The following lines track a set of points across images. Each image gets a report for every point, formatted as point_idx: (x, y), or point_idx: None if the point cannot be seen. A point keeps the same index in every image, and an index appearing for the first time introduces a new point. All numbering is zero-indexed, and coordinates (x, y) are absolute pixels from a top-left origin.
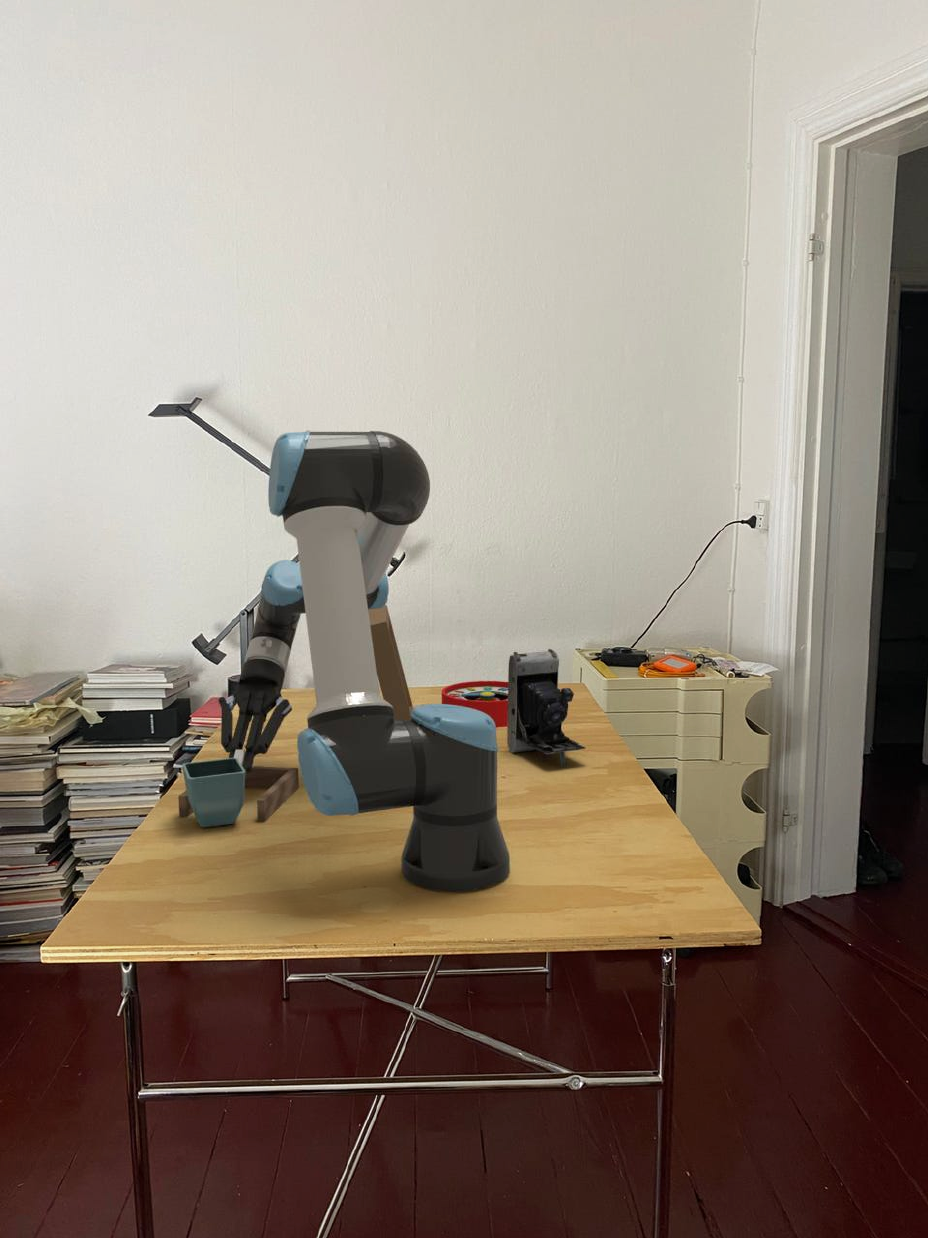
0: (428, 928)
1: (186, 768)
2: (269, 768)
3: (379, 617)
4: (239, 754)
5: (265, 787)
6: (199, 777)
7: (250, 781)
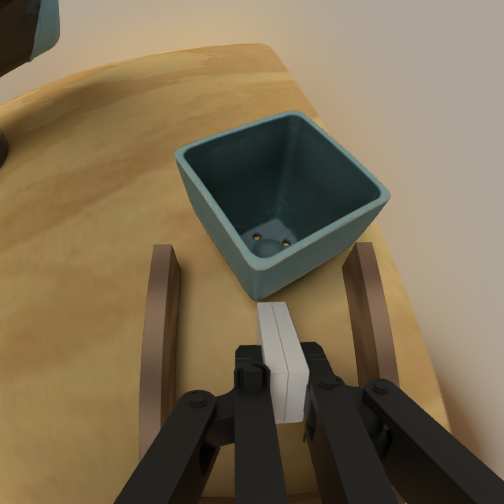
0: (22, 101)
1: (353, 163)
2: None
3: None
4: (282, 359)
5: None
6: (276, 115)
7: (294, 499)
